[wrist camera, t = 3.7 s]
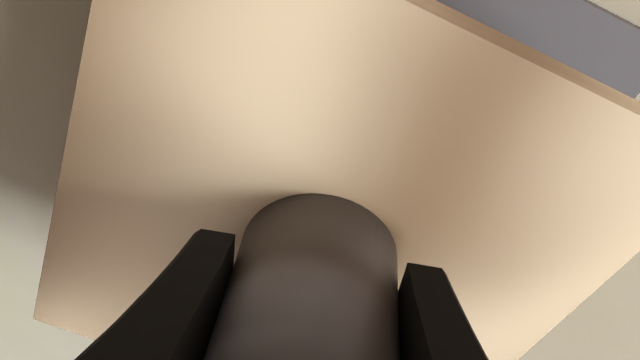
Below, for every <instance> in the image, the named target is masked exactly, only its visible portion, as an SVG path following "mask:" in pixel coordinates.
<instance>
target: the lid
mask: <svg viewBox="0 0 640 360" xmlns="http://www.w3.org/2000/svg"><path fill="white" fill-rule="evenodd" d="M200 229H206V230H212V231H218V232H225V233H231V234H235V250H234V266H233V269H232V272H231V275H230V279H229V282H228V285H227V288H226V291H225V294H224V297H223V300H222V304H221V307H220V310H219V313H218V316H217V319H216V322H215V325H214V328H213V331H212V334H211V338H210V341H209V344H208V347H207V350H206V353H205V356H204V359H203V360H400V336H399V303H398V290H399V287H400V284H401V281H402V278H403V275H404V272H405V269H406V265H407V262H408V263H414V264H420V265H426V266H433V267H439V268H442V269H443V270H444V272H445V273H446V275H447V277H448V279H449V281H450V283H451V286H452V288H453V290H454V292H455V294H456V296H457V298H458V300H459V302H460V305H461V307H462V309H463V311H464V313H465V315H466V317H467V319H468V321H469V323H470V325H471V327H472V329H473V331H474V333H475V335H476V337H477V338H478V340H479V342H480V344H481V346H482V348H483V350H484V352H485V354H486V355H487V357H488V359H489V360H518V359H519V358H520V357H521V356H522V355H524V354H525V353H526V352H527V351H528V350H529V349H530V348H531V347H532V346H534V345H535V344H536V343H537V342H538V341H539V340H540V339H541V338H543V337H544V336H545V335H546V334H547V333H548V332H549V331H550V330H552V329H553V328H554V327H555V326H556V325H557V324H558V323H559V322H561V321H562V320H563V319H564V318H565V317H566V316H567V315H568V314H569V313H571V312H572V311H573V310H574V309H575V308H576V307H577V306H578V305H580V304H581V303H582V302H583V301H584V300H585V299H586V298H587V297H589V296H590V295H591V294H592V293H593V292H594V291H595V290H596V289H597V288H599V287H600V286H601V285H602V284H603V283H604V282H605V281H606V280H608V279H609V278H610V277H611V276H612V275H613V274H614V273H615V272H617V271H618V270H619V269H620V268H621V267H622V266H623V265H624V264H626V263H627V262H628V261H629V260H630V259H631V258H632V257H633V256H634V255H636V254H637V253H638V252H639V251H640V102H639V101H637V100H635V99H633V98H631V97H629V96H627V95H625V94H623V93H621V92H619V91H617V90H615V89H613V88H611V87H609V86H607V85H605V84H603V83H601V82H599V81H597V80H595V79H593V78H591V77H589V76H587V75H585V74H583V73H581V72H579V71H577V70H575V69H573V68H571V67H569V66H567V65H565V64H563V63H561V62H559V61H557V60H555V59H553V58H551V57H549V56H547V55H545V54H543V53H541V52H539V51H537V50H535V49H533V48H531V47H529V46H527V45H525V44H523V43H521V42H519V41H517V40H515V39H513V38H511V37H509V36H507V35H505V34H503V33H501V32H499V31H497V30H495V29H492V28H490V27H488V26H486V25H484V24H482V23H480V22H478V21H476V20H474V19H472V18H470V17H468V16H466V15H464V14H462V13H460V12H458V11H456V10H454V9H452V8H450V7H448V6H446V5H444V4H442V3H440V2H438V1H436V0H92V3H91V8H90V14H89V19H88V24H87V30H86V35H85V40H84V46H83V51H82V57H81V62H80V67H79V73H78V78H77V84H76V89H75V94H74V100H73V105H72V111H71V116H70V121H69V127H68V132H67V138H66V143H65V148H64V154H63V159H62V165H61V170H60V175H59V181H58V186H57V192H56V197H55V202H54V208H53V213H52V218H51V224H50V229H49V235H48V240H47V245H46V251H45V256H44V262H43V267H42V272H41V278H40V283H39V289H38V294H37V299H36V305H35V310H34V316H33V319H35V320H38V321H41V322H44V323H47V324H49V325H52V326H55V327H58V328H61V329H64V330H67V331H70V332H73V333H76V334H79V335H82V336H85V337H88V338H90V339H93V340H96V339H97V338H98V337H99V336H100V335H101V334H102V333H104V332H105V331H106V330H107V329H108V328H109V327H110V326H111V325H112V324H113V323H114V322H115V321H116V320H117V319H118V318H119V317H120V316H121V315H122V314H123V313H124V312H125V311H126V310H127V309H128V308H129V307H130V306H131V305H132V304H133V303H134V301H135V300H136V299H137V298H138V297H139V296H140V295H141V294H142V293H143V292H144V291H145V290H146V289H147V288H148V287H149V286H150V285H151V284H152V283H153V281H154V280H155V279H156V278H157V277H158V276H159V275H160V274H161V272H162V271H163V270H164V269H165V268H166V267H167V266H168V265H169V263H170V262H171V261H172V260H173V259H174V258H175V256H176V255H177V254H178V253H179V252H180V250H181V249H182V248H183V247H184V245H185V244H186V243H187V242H188V240H189V239H190V238H191V237H192V235H193V234H194V233H195V232H196V231H198V230H200Z"/></svg>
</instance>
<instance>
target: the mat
mask: <svg viewBox="0 0 640 360" xmlns="http://www.w3.org/2000/svg"><path fill="white" fill-rule="evenodd" d="M436 1H438V2H440V3H442V4H444V5H446V6H448V7H450V8H452V9H454V10H456V11H458V12H460V13H462V14H464V15H466V16H468V17H470V18H472V19H474V20H476V21H478V22H480V23H482V24H484V25H486V26H488V27H490V28H492V29H495V30H497V31H499V32H501V33H503V34H505V35H507V36H509V37H511V38H513V39H515V40H517V41H519V42H521V43H523V44H525V45H527V46H529V47H531V48H533V49H535V50H537V51H539V52H541V53H543V54H545V55H547V56H549V57H551V58H553V59H555V60H557V61H559V62H561V63H563V64H565V65H567V66H569V67H571V68H573V69H575V70H577V71H579V72H581V73H583V74H585V75H587V76H589V77H591V78H593V79H595V80H597V81H599V82H601V83H603V84H605V85H607V86H609V87H611V88H613V89H615V90H617V91H619V92H621V93H623V94H625V95H627V96H629V97H631V98H633V99H634V98H635V97H636V96H637V95H638V94H639V93H640V27H638V26H636V25H634V24H632V23H630V22H628V21H626V20H624V19H623V18H621V17H619V16H617V15H615V14H613V13H611V12H609V11H607V10H605V9H603V8H601V7H600V6H598V5H596V4H594V3H592V2H590V1H588V0H436Z"/></svg>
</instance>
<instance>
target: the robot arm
mask: <svg viewBox="0 0 640 360" xmlns="http://www.w3.org/2000/svg"><path fill="white" fill-rule="evenodd" d="M234 250H235V234H231V233H225V232H218V231H212V230H206V229H200V230H198V231H196V232H195V233H194V234H193V235H192V237H191V238H190V239H189V240H188V242H187V243H186V244H185V245H184V247H183V248H182V249H181V250H180V252H179V253H178V254H177V255H176V256H175V258H174V259H173V260H172V261H171V262H170V263H169V265H168V266H167V267H166V268H165V269H164V270H163V271H162V272H161V274H160V275H159V276H158V277H157V278H156V279H155V280H154V281H153V283H152V284H151V285H150V286H149V287H148V288H147V289H146V290H145V291H144V292H143V293H142V294H141V295H140V296H139V297H138V298H137V299H136V300H135V301H134V303H133V304H132V305H131V306H130V307H129V308H128V309H127V310H126V311H125V312H124V313H123V314H122V315H121V316H120V317H119V318H118V319H117V320H116V321H115V322H114V323H113V324H112V325H111V326H110V327H109V328H108V329H107V330H106V331H105V332H104V333H102V334H101V335H100V336H99V337H98V338H97V339H96V340H95V341H94V342H93V343H92V344H91V345H90V346H89V347H88V348H87V349H85V350H84V351H83V352H82V353H81V354H80V355H79V356H78V357H77V358H76V359H75V360H203V359H204V356H205V353H206V350H207V347H208V344H209V341H210V338H211V334H212V331H213V328H214V325H215V322H216V319H217V316H218V313H219V310H220V307H221V304H222V300H223V297H224V294H225V291H226V288H227V285H228V282H229V279H230V275H231V272H232V269H233V266H234ZM398 303H399V336H400V360H489V359H488V357H487V355H486V354H485V352H484V350H483V348H482V346H481V344H480V342H479V340H478V338H477V337H476V335H475V333H474V331H473V329H472V327H471V325H470V323H469V321H468V319H467V317H466V315H465V313H464V311H463V309H462V307H461V305H460V302H459V300H458V298H457V296H456V294H455V292H454V290H453V288H452V286H451V283H450V281H449V279H448V277H447V275H446V273H445V272H444V270H443V269H442V268H439V267H433V266H426V265H420V264H414V263H408V262H407V265H406V269H405V272H404V275H403V278H402V281H401V284H400V287H399V290H398Z"/></svg>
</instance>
